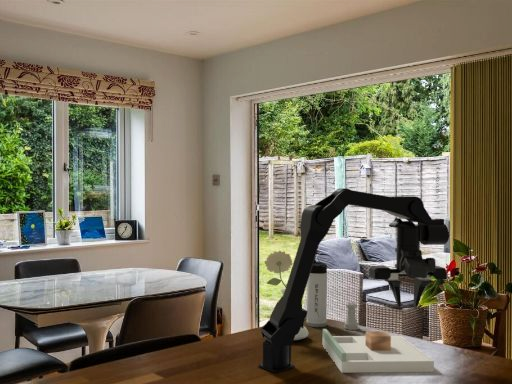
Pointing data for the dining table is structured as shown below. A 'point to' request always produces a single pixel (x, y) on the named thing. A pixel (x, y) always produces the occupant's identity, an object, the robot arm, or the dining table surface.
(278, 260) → the flower in vase
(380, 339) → the block
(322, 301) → the travel mug
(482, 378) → the dining table surface
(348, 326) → the rook chess piece
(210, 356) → the dining table surface
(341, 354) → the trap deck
